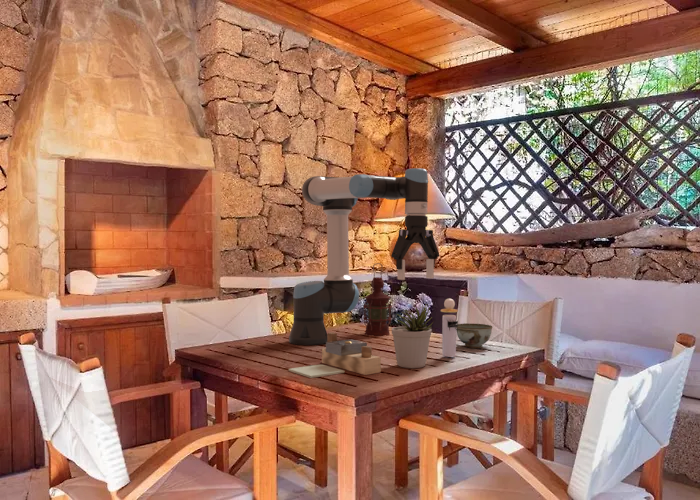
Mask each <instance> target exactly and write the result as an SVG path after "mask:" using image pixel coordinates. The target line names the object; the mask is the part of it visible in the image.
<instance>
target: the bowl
mask: <svg viewBox="0 0 700 500" xmlns="http://www.w3.org/2000/svg"><path fill="white" fill-rule="evenodd" d="M492 329H493V325H491V324H485V323H469V322H468V323H465V322H464V323H458V329H457V327H456V336H457V338H458V339H459V341H460V342H461V343H463V344H464V346H465V347H466V348H469V349H480V348H483V345H484V344H486V343H487V342H488V341H489V339H490V338H491V335H492Z"/></svg>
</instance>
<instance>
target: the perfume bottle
mask: <svg viewBox="0 0 700 500" xmlns="http://www.w3.org/2000/svg"><path fill="white" fill-rule="evenodd" d="M443 305H444V308H441V309H440V312H441V313H458V312H459V309H455V305H456V302H455V300H454V299H452V298H450V297H449V298H446V299H445V300H444V303H443ZM458 324H459V320H457V315H454V314H443V315H442V324H441V325H442V328H441V329H442V333H441V335H442V337H441V339H442V343H441V347H442V348H441V350H442V353H441V354H442V356H444V357H456V356H457V355H456V354H457V331H456V327H457V329H458Z"/></svg>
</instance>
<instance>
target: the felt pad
mask: <svg viewBox="0 0 700 500" xmlns="http://www.w3.org/2000/svg"><path fill="white" fill-rule="evenodd" d="M288 372H291V373H294V374H297V375H301V376H304V377H307V378H310V379H314V378H320V377H325V376H331V375H337V374H345V369H341V368H338V367H334V366H331V365H327V364H324V363H322V364H311V365H306V366H299V367H293V368H288Z"/></svg>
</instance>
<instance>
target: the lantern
mask: <svg viewBox="0 0 700 500" xmlns="http://www.w3.org/2000/svg"><path fill="white" fill-rule="evenodd" d="M375 265H376V266H377V265H380V266H381V267H383V263H380V262H379V263H374V264H373V266H372V271H373V278H372V280H371V282H370V285H371V287H372V289H371V293H370V294H368V295H365V296H364V299H366V301H365V302H363V307H362V308H363V323H364V326H365V332H364V335H366V334H367V335H366V336H369V335H374V336H373V337H382V336H383V335H386V336H390V330H389V329H390V327H389V326H390V324H391V323H392V307H393V306H392V302H391V301H389V300H390V299H391V296H388V295H387V294H386V293H384V292H383V291H384V285H385V282H384V279H383V277H382V272H383V268H381V269H380V276H377V277H375V275H376V274H375V269H374V268H375ZM366 309H367V310H368V311H367V310H366ZM387 312H388V314H387ZM387 322H388V323H387ZM383 337H384V336H383Z"/></svg>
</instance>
